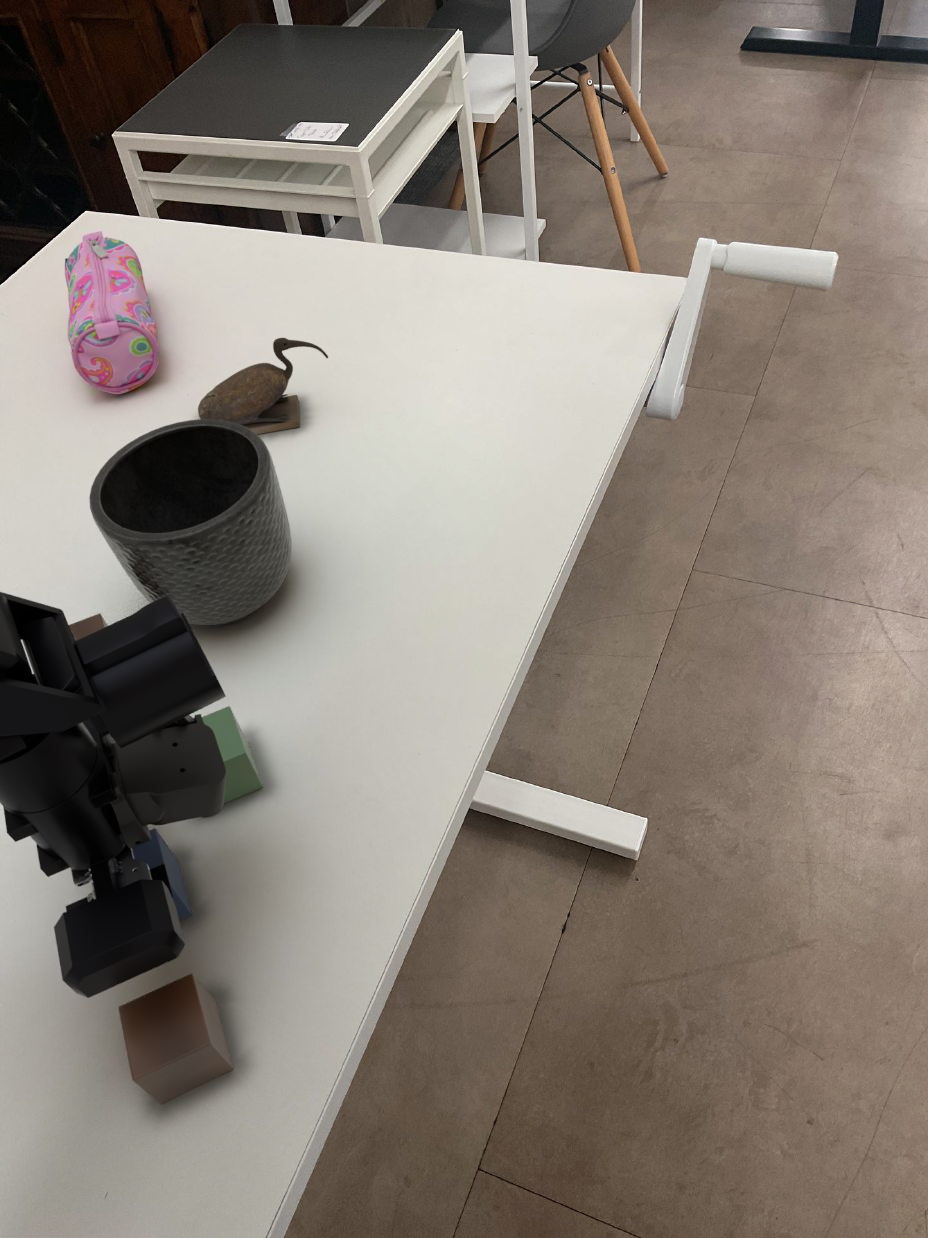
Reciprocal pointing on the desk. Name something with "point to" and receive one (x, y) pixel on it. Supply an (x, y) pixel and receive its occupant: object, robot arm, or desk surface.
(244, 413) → the figurine
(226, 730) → the green block
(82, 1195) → the desk surface
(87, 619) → the far walnut block
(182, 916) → the blue block
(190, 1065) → the near walnut block
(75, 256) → the pencil case
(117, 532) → the planter
